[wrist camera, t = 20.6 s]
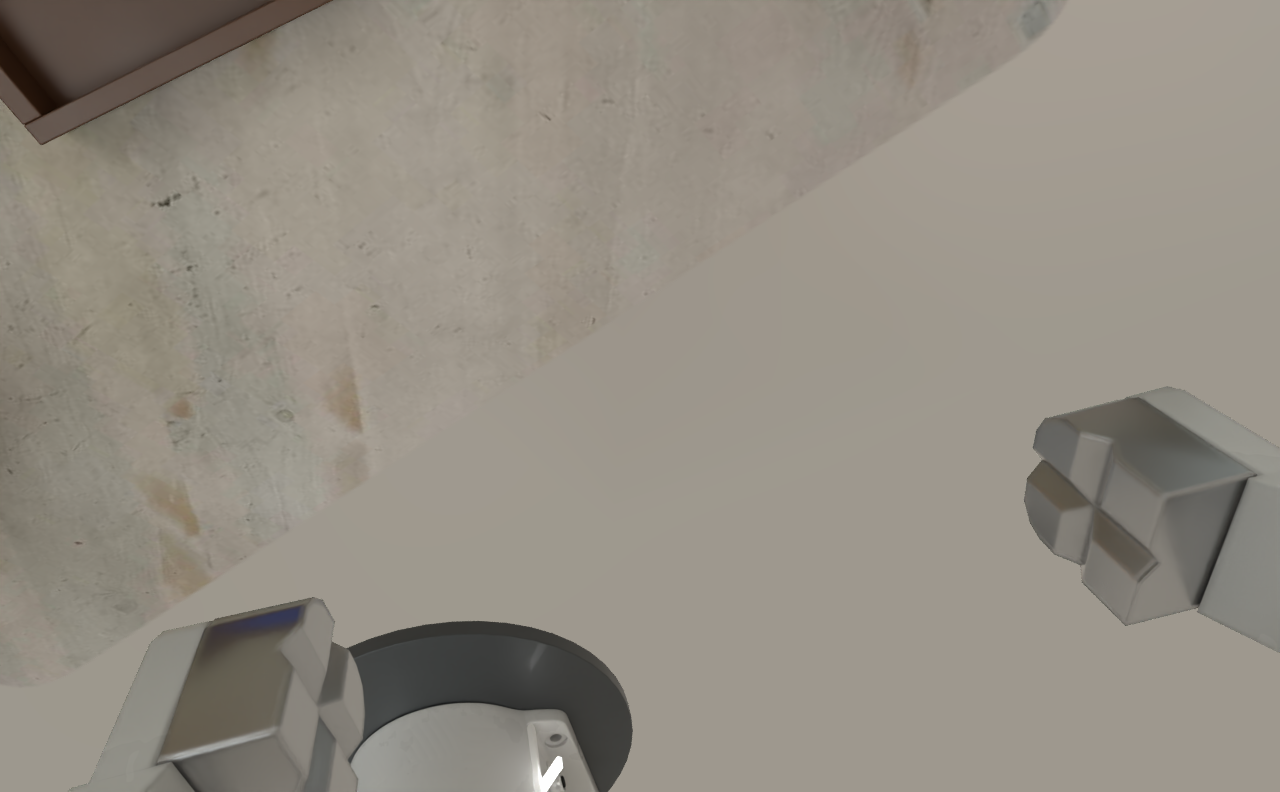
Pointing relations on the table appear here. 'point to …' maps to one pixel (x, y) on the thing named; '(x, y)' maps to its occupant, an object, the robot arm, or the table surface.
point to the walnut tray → (116, 51)
